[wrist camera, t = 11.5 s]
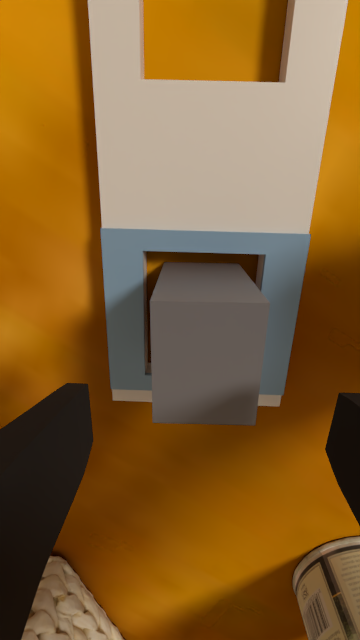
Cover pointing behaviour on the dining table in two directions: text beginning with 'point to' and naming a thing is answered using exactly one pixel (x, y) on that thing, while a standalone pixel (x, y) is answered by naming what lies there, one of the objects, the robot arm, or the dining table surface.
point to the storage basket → (66, 608)
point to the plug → (206, 344)
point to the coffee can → (330, 590)
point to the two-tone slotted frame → (207, 175)
